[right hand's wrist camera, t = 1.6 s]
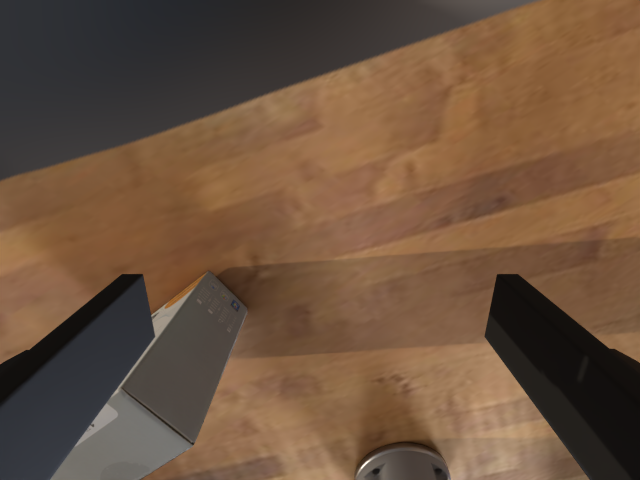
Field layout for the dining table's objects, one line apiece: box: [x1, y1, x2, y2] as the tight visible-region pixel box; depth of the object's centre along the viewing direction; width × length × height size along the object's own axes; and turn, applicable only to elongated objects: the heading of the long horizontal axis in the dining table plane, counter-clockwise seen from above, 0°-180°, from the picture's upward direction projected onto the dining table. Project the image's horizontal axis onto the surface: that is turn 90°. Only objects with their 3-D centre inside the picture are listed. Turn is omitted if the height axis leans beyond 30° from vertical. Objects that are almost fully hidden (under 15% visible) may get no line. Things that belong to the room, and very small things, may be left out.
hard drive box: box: [50, 271, 248, 480], centre depth 36 cm, size 16×8×20 cm, turn 128°
